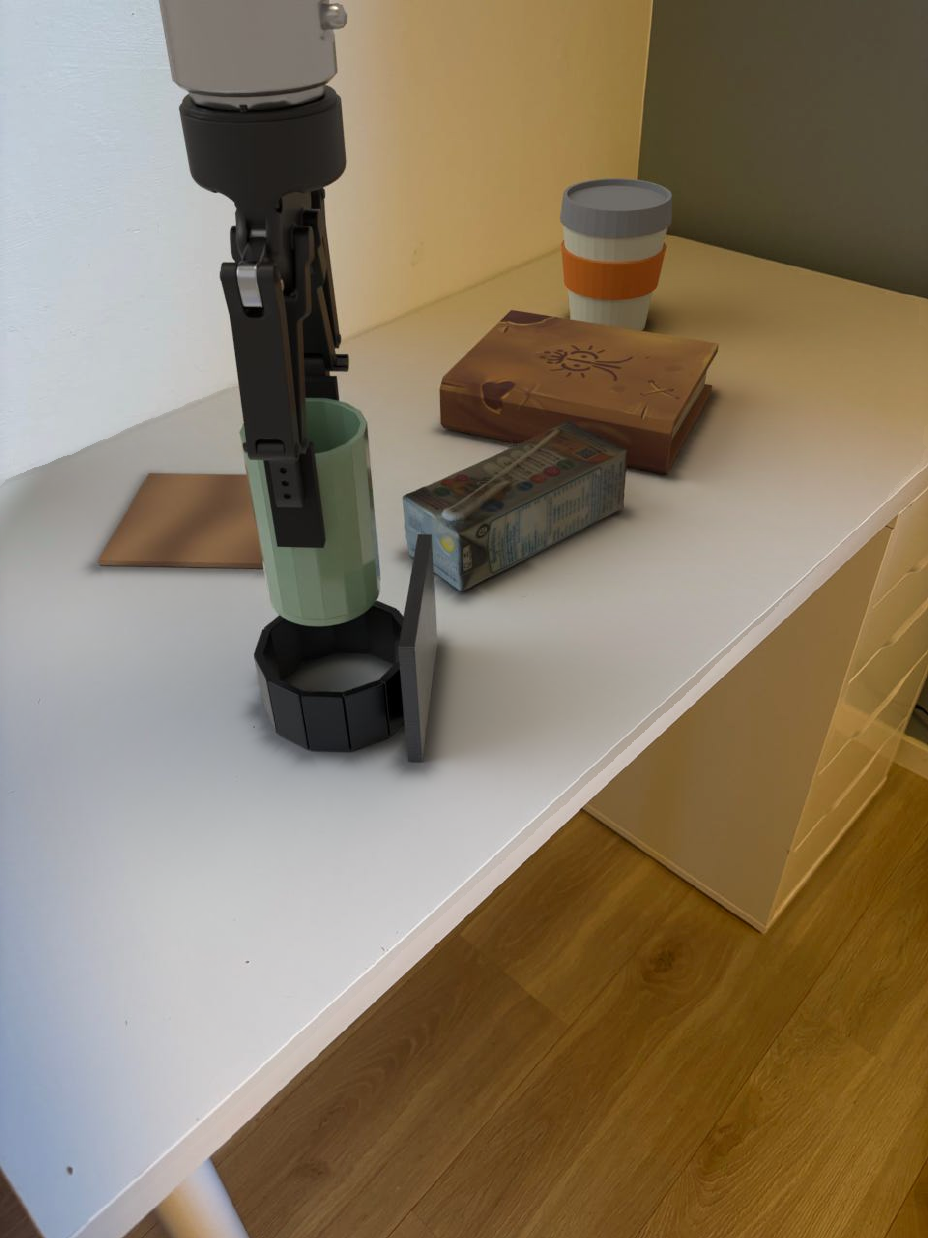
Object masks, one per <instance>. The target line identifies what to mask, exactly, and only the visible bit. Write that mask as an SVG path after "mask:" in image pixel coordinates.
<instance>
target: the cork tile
mask: <svg viewBox="0 0 928 1238" xmlns="http://www.w3.org/2000/svg"><path fill="white" fill-rule="evenodd" d="M97 561H98V564H99V565H98V566H123V567H124V566H126V567H127V566H130V567H170V568H171V567H173V568H175V567H176V568H218V569H219V568H222V569H223V568H226V569H230V568H231V569H263V564H262V558H261V553H260V547H259V541H258V536H257V530H256V525H255V519H254V513H253V508H252V502H251V496H250V491H249V485H248V480H247V474H242V473H241V474H236V473H235V474H233V473H231V474H230V473H229V474H228V473H171V472H170V473H169V472H168V473H167V472H166V473H165V472H164V473H163V472H150V473H148V474H147V476H146V477H145V479H144V481H143V482H142V484H141V486H140V488H139V489H138V491H137V493H136V494H135V495H134V498H133V500H132V501H131V503H130V504H129V506H128V507H127V509H126V511H125V513H124V514H123V516H122V518H121V520H120V521H119V523H118V525H117V526H116V529H114V532H113V533H112V535H111V537H110V538H109V540H108V542H107V544H106V545H105V547H104V549H103V550H102V552H101V554H100V555H99V557H98V559H97Z"/></svg>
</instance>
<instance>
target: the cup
mask: <svg viewBox="0 0 928 1238" xmlns="http://www.w3.org/2000/svg"><path fill="white" fill-rule="evenodd" d="M305 399H306V424H307V438H308V441H309V442H313V443H314V451H315V459H316V467H317V475H318V483H319V491H320V499H321V507H322V515H323V523H324V531H325V539H326V541H325V545H324V548H300V547H277V542H276V536H275V530H274V524H273V518H272V512H271V506H270V500H269V494H268V488H267V481H266V475H265V469H264V463H263V460H250V459H249V457H248V453H245V452H244V449H243V443H244V442H246V438H245V430H244V422H243V423H242V425H241V427H240V428H239V432H238V434H239V435H238V436H239V440H240V445H241V450H242V451H241V452H242V456H243V457H242V458H243V462H244V468H245V475H247V480H248V485H249V491H250V496H251V502H252V508H253V513H254V519H255V525H256V530H257V536H258V541H259V547H260V553H261V558H262V564H263V568H262V569H263V574H264V581H265V586H266V590H267V593H268V598H269V603H270V605H271V607H272V609H273V610H274V612H276V614H277V615H278V616H279V615H280V616H282V617H283V618H285V619H287V620H288V621H291V622H294V623H297V624H301V625H307V626H329V625H335V624H340V623H344V622H347V621H349V620H352V619H354V618H356V617H358V616H360V615H362V614H363V613H365V612H366V611H367V610H369V609H370V608H371V607H372V606H373V604H374V603H375V602H376V600H377V601H378V599H379V596H380V593H381V568H380V556H379V555H380V554H379V544H378V533H377V521H376V508H375V498H374V486H373V474H372V473H373V472H372V462H371V450H370V439H369V429H368V428H369V427H368V421H367V419H366V417H365V415H364V414H363V412H362V411H361V410H360V409H359V408H357V407H355V406H353V405H351V404H350V403H348V402H345V401H342V400H339V401H337V400H333V399H328V398H305Z"/></svg>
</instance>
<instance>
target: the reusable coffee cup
mask: <svg viewBox="0 0 928 1238" xmlns="http://www.w3.org/2000/svg"><path fill="white" fill-rule="evenodd" d="M672 196H673V194H672V192H671V190H670V189H668V188H667V187H665V186H664V185H661V184H659V183H655V182H651V181H647V180H643V179H636V178H635V179H634V178H621V177H619V178H618V177H615V178H613V177H611V178H609V177H607V178H595V179H589V180H584V181H579V182H576V183H574V184H572V185H570V186H568V187H566V188H565V189H564V191H563V193H562V200H561V208H560V214H559V222H560V223H561V225H562V229H563V240H562V241H561V243H560V249H561V250H560V251H561V260H562V261H561V262H562V263H561V264H562V273H563V283H564V286H565V287H566V289H567V292H568V293H567V294H568V305H569V317H570V318H569V319H571V320H577V321H584V322H590V323H596V324H602V325H608V326H614V327H621V328H627V329H633V330H639V331H644V329H645V328H646V322H647V319H648V313H649V311H650V306H651V301H652V298H653V297H652V296H653V293H654V291H656V289H657V288H658V286H659V283H660V282H659V281H660V277H661V273H662V269H663V264H664V260H665V256H666V252H667V247H668V246H667V245H666V243H665V240H666V236H667V231H668V228H669V227H670V226H671V224H672V220H673V197H672Z"/></svg>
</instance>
